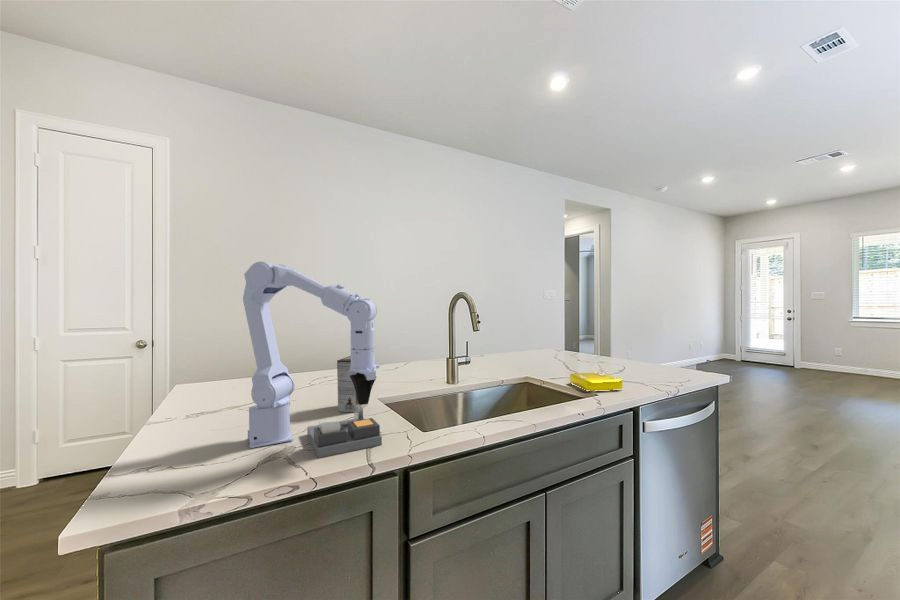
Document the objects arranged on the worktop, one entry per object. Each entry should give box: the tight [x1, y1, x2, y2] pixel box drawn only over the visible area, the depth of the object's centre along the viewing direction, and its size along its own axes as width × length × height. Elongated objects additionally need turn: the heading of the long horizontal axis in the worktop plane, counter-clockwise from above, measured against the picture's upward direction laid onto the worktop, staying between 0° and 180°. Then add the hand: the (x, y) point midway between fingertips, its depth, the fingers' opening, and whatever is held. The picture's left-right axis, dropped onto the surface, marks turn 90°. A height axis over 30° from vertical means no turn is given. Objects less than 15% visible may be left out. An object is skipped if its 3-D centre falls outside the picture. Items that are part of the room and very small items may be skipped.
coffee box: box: [336, 355, 368, 413], centre depth 119 cm, size 9×6×16 cm
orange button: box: [353, 418, 374, 428], centre depth 91 cm, size 4×4×2 cm
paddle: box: [353, 405, 364, 421], centre depth 99 cm, size 1×4×4 cm, turn 29°
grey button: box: [318, 419, 340, 434], centre depth 87 cm, size 4×4×2 cm
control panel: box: [306, 417, 383, 459], centre depth 93 cm, size 15×16×4 cm
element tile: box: [569, 371, 624, 391], centre depth 145 cm, size 15×15×5 cm
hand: (363, 403), depth 91 cm, fingers closed
